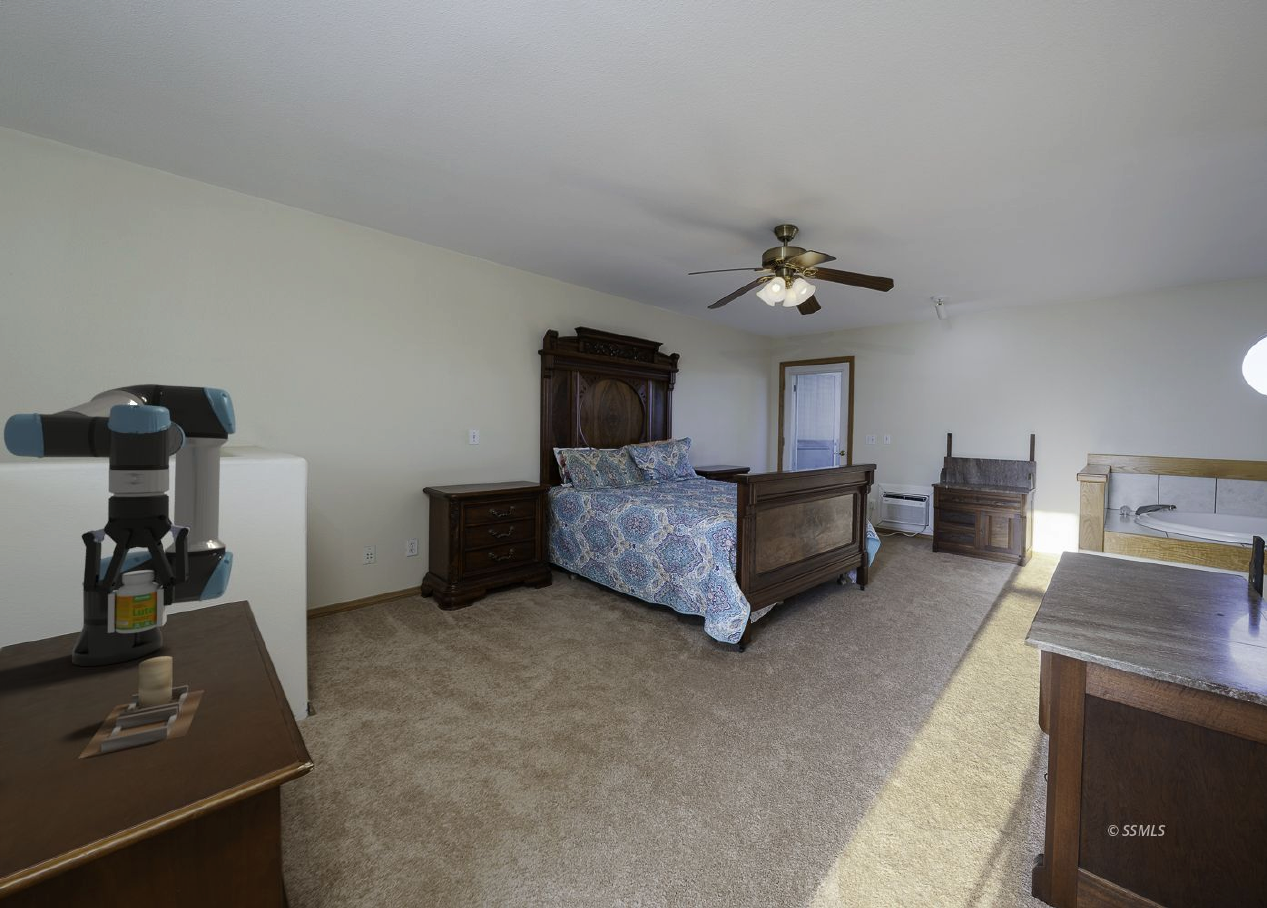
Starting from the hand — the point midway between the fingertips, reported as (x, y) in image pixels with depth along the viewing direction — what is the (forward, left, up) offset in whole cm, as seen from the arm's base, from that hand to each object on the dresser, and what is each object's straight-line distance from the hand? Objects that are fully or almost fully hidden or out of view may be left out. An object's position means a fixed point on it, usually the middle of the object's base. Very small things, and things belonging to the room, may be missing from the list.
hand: (138, 626), depth 88 cm
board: (-3, +1, -20) cm, 20 cm away
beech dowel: (-8, +1, -18) cm, 20 cm away
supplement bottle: (0, 0, -1) cm, 1 cm away
